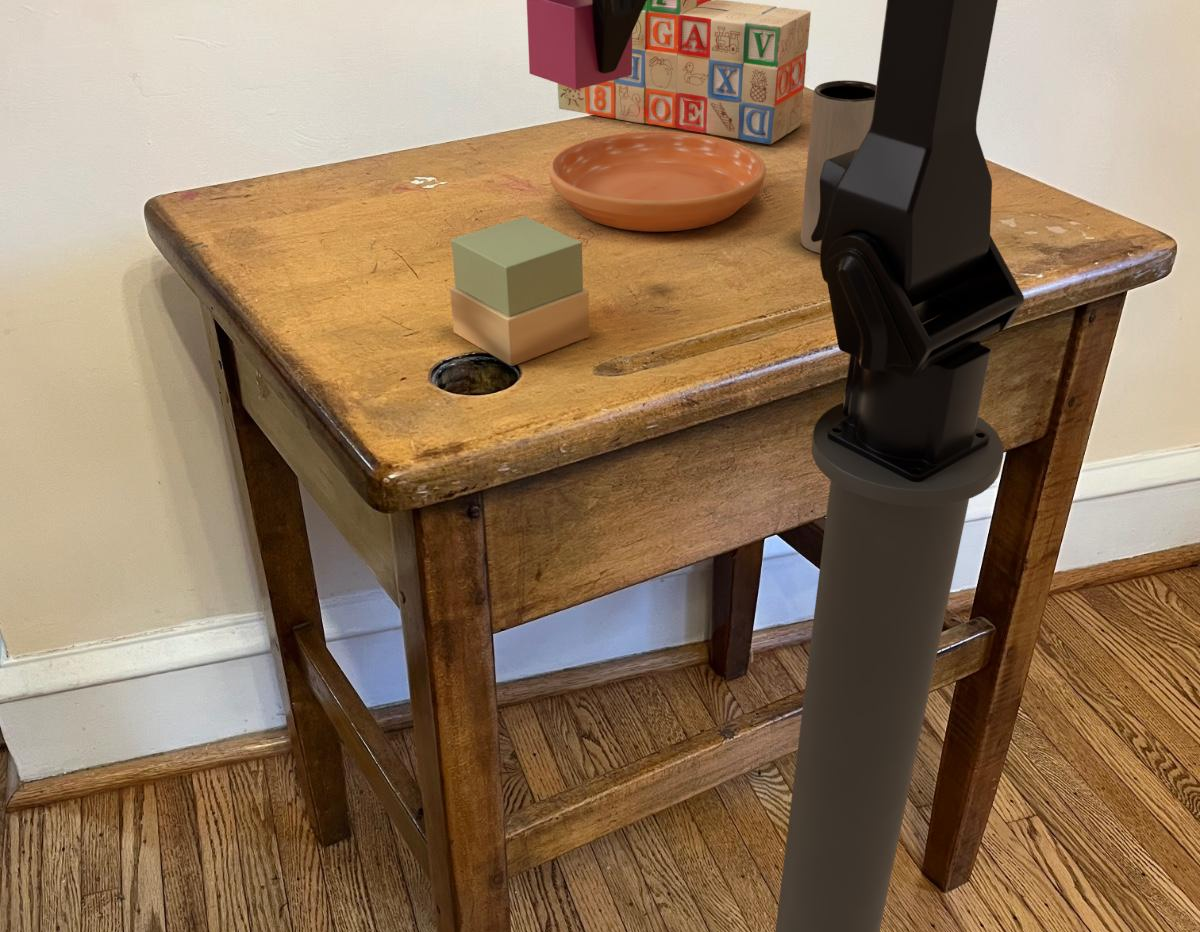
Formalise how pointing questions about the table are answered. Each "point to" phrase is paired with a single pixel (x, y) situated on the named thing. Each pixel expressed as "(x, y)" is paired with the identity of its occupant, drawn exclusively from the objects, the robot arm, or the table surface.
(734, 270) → the table surface
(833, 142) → the grey hollow cylinder
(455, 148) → the table surface
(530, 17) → the mulberry block
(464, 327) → the beech base block
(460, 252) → the sage middle block
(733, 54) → the stack of blocks
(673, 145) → the saucer
